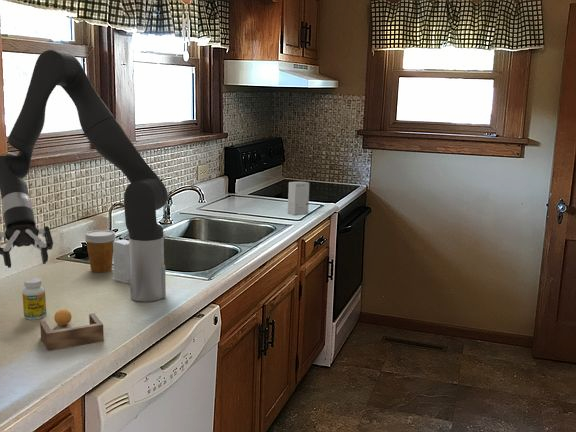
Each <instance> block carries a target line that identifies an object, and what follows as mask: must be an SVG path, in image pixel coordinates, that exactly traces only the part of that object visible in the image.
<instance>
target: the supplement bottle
mask: <svg viewBox="0 0 576 432" xmlns="http://www.w3.org/2000/svg"><path fill="white" fill-rule="evenodd" d="M23 282H24V285H23V286H24V288H23V290H22V292H21V293H22V307H23V317H24V319H25V320H29V321H36V320H41V319H44V318H45V317H47V303H46V301H47V300H46V299H47V298H46V290H45V288H44V286H42V285H43V283H42V279H41V278H38V277H34V278H27V279H25V280H24V281H23Z"/></svg>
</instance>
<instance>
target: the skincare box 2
mask: <svg viewBox="0 0 576 432" xmlns="http://www.w3.org/2000/svg"><path fill="white" fill-rule="evenodd" d="M287 194H288V195H287V197H288V198H287V200H288V201H287V213H288V214H289V215H292V216H301V215H306V214H307V215H308V214H309V205H310V204H309V202H310V182H307V181H289V182H288V193H287Z"/></svg>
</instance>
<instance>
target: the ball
mask: <svg viewBox="0 0 576 432" xmlns="http://www.w3.org/2000/svg"><path fill="white" fill-rule="evenodd" d="M53 320H54V322H55V323H56V324H57V325H58V326H61V327H62V326H66V325H69V323H70V322H71V321H72V313H71V311H70V310H68V309H65V308H62V309H59V310H57V311H56V312H55V313H54V316H53Z"/></svg>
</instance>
